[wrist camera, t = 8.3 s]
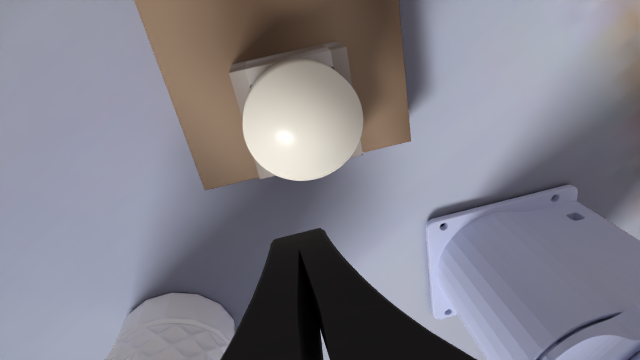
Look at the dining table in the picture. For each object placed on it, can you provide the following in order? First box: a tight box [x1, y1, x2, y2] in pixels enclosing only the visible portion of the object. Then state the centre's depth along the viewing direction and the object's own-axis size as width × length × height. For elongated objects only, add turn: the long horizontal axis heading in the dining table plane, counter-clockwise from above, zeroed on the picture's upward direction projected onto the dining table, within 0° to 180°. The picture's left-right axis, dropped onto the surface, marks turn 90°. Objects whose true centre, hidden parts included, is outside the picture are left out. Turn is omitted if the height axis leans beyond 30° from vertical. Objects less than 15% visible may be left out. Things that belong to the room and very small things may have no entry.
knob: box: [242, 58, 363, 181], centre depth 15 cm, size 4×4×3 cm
